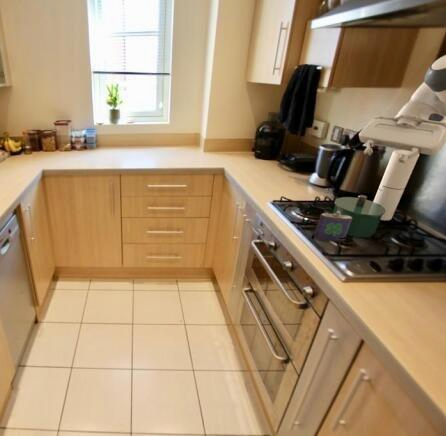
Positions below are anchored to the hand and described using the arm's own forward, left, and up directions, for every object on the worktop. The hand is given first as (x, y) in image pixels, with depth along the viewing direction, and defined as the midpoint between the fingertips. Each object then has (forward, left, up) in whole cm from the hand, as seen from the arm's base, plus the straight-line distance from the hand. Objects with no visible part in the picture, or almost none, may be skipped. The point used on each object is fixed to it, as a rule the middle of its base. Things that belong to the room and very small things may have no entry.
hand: (383, 157), depth 95 cm
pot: (+4, -7, -28) cm, 30 cm away
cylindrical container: (+5, -26, -29) cm, 39 cm away
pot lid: (+5, -7, -20) cm, 22 cm away
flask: (+4, +7, -29) cm, 30 cm away
